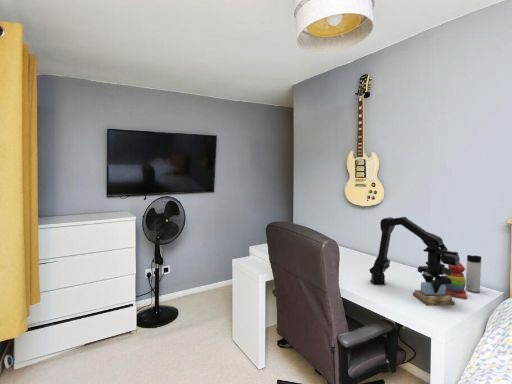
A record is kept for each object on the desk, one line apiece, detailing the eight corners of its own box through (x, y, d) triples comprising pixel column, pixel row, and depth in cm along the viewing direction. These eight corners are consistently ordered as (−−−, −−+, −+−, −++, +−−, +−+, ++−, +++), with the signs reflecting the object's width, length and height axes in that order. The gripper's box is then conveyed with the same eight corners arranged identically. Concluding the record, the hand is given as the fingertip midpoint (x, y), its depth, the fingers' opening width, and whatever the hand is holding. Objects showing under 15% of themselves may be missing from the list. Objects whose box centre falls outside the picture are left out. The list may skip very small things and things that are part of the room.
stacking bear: (467, 299, 149) (469, 265, 147) (444, 295, 154) (445, 262, 153) (465, 292, 158) (467, 260, 157) (443, 288, 163) (444, 257, 162)
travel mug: (467, 292, 158) (469, 256, 156) (464, 287, 164) (465, 252, 162) (481, 294, 155) (483, 257, 154) (477, 289, 161) (479, 253, 160)
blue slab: (425, 294, 148) (425, 282, 147) (420, 291, 152) (421, 279, 151) (445, 294, 147) (445, 282, 147) (440, 291, 151) (440, 279, 151)
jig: (426, 305, 144) (426, 298, 143) (412, 295, 156) (413, 288, 155) (454, 304, 144) (454, 297, 144) (438, 294, 156) (438, 287, 156)
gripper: (463, 267, 139) (461, 298, 140) (437, 255, 158) (436, 283, 159) (440, 267, 139) (439, 299, 140) (417, 255, 157) (416, 284, 159)
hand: (433, 291), depth 149 cm, fingers closed on blue slab, 4 cm apart
